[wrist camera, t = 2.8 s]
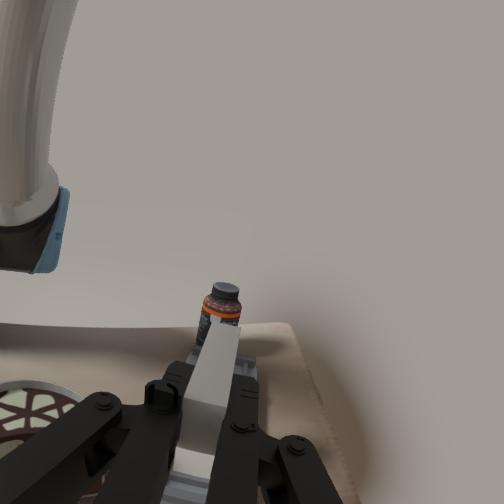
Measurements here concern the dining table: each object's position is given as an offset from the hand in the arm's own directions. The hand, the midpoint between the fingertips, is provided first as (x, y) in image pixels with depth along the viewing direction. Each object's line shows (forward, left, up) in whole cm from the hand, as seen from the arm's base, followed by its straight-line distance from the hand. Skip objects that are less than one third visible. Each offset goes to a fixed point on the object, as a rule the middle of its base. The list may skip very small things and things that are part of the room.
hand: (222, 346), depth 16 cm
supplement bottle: (-2, +31, -19) cm, 36 cm away
